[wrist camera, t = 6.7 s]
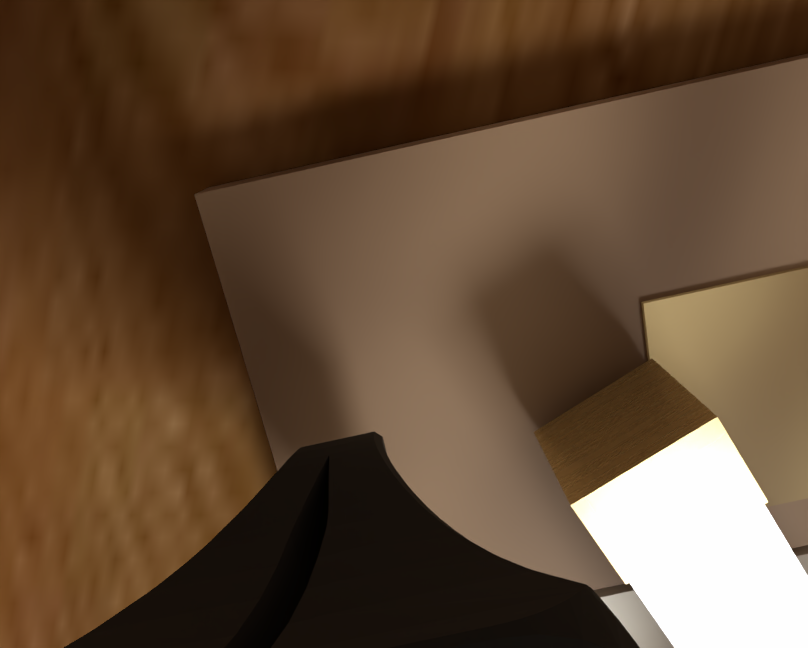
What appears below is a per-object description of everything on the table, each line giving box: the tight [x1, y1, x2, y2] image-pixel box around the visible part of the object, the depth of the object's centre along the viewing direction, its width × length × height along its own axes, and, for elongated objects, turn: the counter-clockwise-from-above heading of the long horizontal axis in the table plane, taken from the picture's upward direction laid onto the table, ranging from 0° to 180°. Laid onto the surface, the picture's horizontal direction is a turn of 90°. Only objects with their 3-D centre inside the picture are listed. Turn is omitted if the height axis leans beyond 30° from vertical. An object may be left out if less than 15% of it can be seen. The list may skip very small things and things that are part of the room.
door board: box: [194, 54, 808, 648], centre depth 13 cm, size 15×17×3 cm
